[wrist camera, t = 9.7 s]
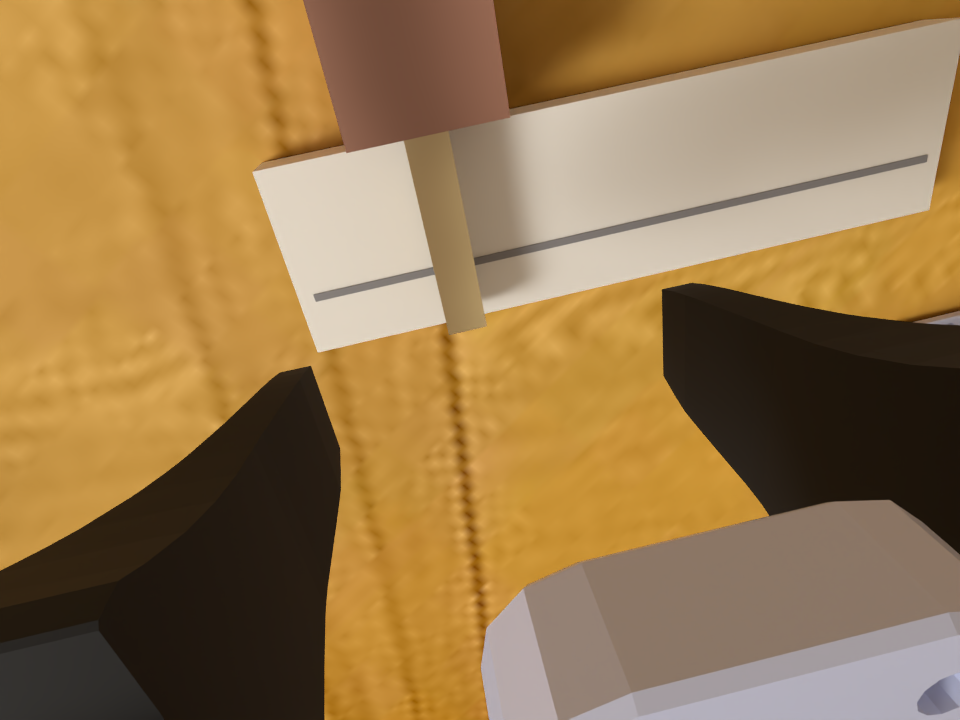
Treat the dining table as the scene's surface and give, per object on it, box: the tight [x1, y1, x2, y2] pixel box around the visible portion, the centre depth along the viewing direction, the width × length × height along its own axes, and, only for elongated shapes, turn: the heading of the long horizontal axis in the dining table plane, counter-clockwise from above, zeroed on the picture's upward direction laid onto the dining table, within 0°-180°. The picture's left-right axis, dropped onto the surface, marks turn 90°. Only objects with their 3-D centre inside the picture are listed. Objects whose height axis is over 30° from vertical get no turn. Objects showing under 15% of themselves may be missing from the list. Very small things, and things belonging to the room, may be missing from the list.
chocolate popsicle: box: [303, 0, 510, 335], centre depth 17 cm, size 4×10×5 cm, turn 10°
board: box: [253, 18, 960, 352], centre depth 19 cm, size 22×6×2 cm, turn 100°
